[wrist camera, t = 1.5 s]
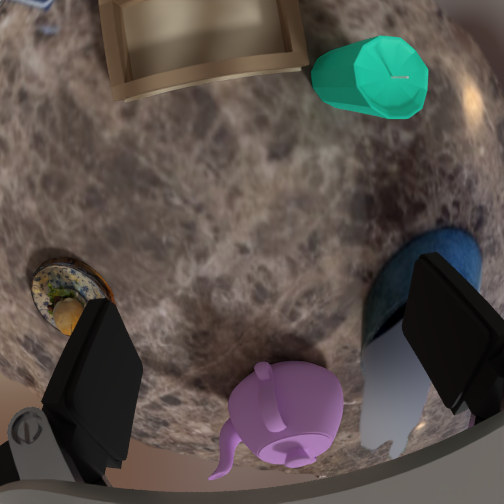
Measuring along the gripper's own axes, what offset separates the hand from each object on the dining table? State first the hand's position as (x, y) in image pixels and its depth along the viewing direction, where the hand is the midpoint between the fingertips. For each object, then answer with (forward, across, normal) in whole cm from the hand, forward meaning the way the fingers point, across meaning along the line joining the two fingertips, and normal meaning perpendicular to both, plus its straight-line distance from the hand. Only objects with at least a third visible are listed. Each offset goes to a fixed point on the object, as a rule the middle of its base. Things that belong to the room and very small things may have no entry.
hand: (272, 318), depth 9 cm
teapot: (+23, 0, +35) cm, 42 cm away
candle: (+23, -10, -7) cm, 26 cm away
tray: (+22, +2, -13) cm, 26 cm away
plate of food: (+23, +23, +13) cm, 35 cm away
